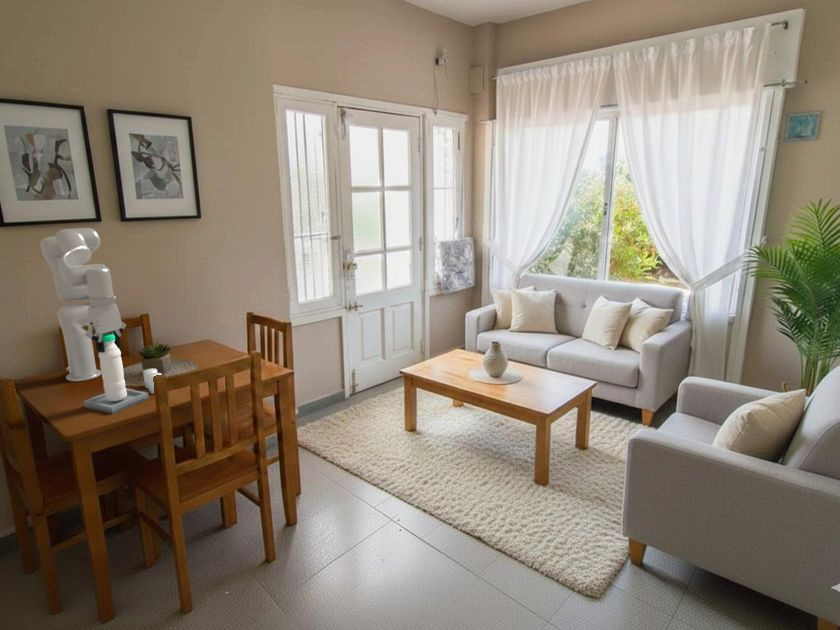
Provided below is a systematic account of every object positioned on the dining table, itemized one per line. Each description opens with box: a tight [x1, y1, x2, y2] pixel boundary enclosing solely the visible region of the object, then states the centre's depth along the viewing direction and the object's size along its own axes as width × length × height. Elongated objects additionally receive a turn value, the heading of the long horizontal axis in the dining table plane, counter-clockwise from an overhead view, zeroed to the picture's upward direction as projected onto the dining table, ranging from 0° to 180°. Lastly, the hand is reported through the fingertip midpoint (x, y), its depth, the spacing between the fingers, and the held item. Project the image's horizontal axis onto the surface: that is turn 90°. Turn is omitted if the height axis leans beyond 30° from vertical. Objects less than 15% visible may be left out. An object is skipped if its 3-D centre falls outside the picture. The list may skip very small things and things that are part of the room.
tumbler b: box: [142, 367, 158, 390], centre depth 208 cm, size 5×5×7 cm
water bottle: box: [98, 333, 127, 401], centre depth 190 cm, size 7×7×25 cm
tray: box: [83, 387, 150, 415], centre depth 193 cm, size 15×15×2 cm
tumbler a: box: [147, 372, 163, 395], centre depth 203 cm, size 5×5×7 cm
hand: (109, 348), depth 188 cm, fingers closed on water bottle, 5 cm apart
